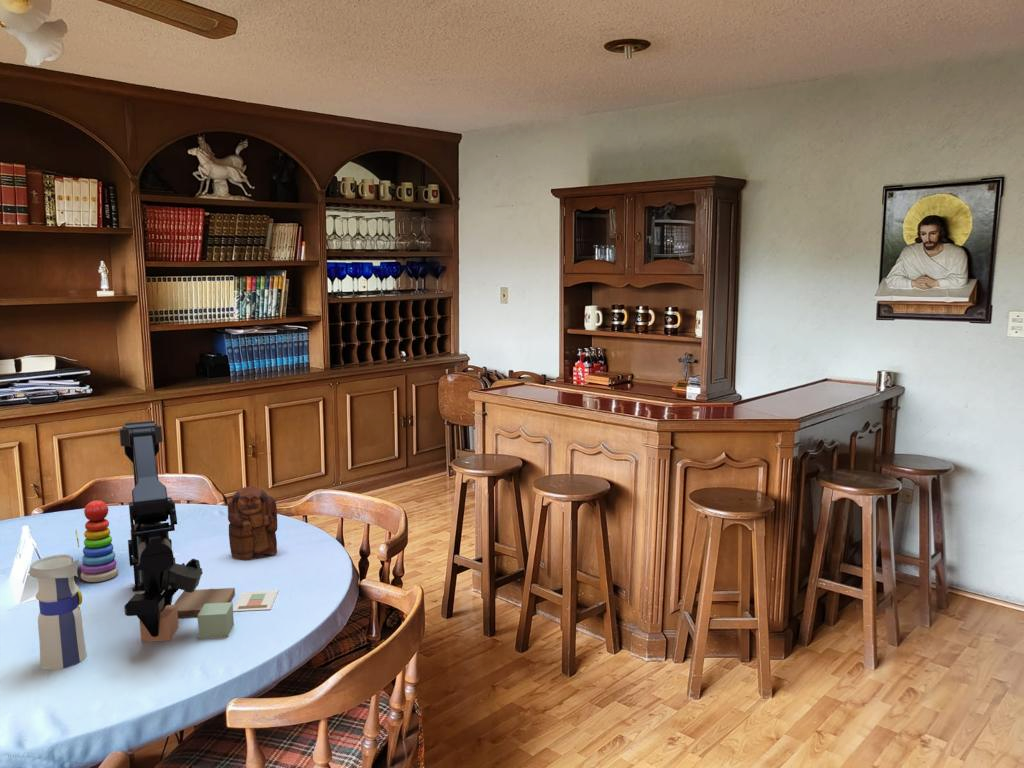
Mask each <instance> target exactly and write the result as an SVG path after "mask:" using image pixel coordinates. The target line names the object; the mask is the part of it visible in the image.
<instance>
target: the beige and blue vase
mask: <svg viewBox="0 0 1024 768" xmlns="http://www.w3.org/2000/svg"><path fill="white" fill-rule="evenodd" d="M75 536H76V542H77V543H76V544H77V547H78V548H80V542H79V537H78V536H79V535H78V532H77V529H75ZM79 561H80V560H79V559H76V560H74V557H73V556H72V555H69V554H66V553H65V554H55V555H50V556H46V557H43V558H39V559H36V560H35V561H33V562H31V564H30V567H29V576H31V577H32V578H35V579H36V580H37V583H38V591H37V593H36V595H35V598H36V599H37V600H38V606H39V613H38V617H37V629H38V640H39V641H38V642H39V665H40V667H41V668H43V669H45V670H51V671H53V670H62V669H66V668H70V667H73V666H75V665H78V664H79V663H81V662H83V661H84V660H85V659H86V658H87V655H88V654H87V647H86V641H85V640H86V639H85V634H84V626H83V616H82V610H81V605H82V604H83V595H82V591H81V589H80V588H79V586H78V585H77V584H76V582H75V576H76V577H77V578H78V577H79V575H78V567H79Z"/></svg>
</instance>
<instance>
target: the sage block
mask: <svg viewBox="0 0 1024 768" xmlns="http://www.w3.org/2000/svg"><path fill="white" fill-rule="evenodd" d="M233 608H234V605H233V602H232V601H231V602H229V603H210V604H204V606H203V607H202V609H201V611H200V612H199V614H198V617H197V627H198V638H199V640H200V639H217V638H228V637H229V635H230V634H231V631H232V629H233V627H234V625H235V622H234V612H233Z"/></svg>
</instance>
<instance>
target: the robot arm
mask: <svg viewBox="0 0 1024 768" xmlns="http://www.w3.org/2000/svg"><path fill="white" fill-rule="evenodd" d="M118 433H119V443H120V444H119V445H120V446H121V447H123V450H124V454H125V456H126V457H127V458H128V459H129V460H130V461H131V462H132V463H131V464H132V470H133V481H134V482H133V483H134V485H133V486H134V487H133V488H132V489H131V499H132V500H131V502H128V512H129V521H130V539H127V546H128V547H127V548H128V560H129V567H133V578H134V579H133V581H134V586H133V587H132V589H131V591H132V592H139V591H140V592H141V591H143V592H144V593H134V595H132V597H130V599H129V600H128V601H127V602H126V603H125V605H124V616H127V617H137V618H138V620H139V621H140V620H141V622H142V623H143V624H144V626H145V627H146V629H147V630H148V632H149V633H150V634H151V636H152V637H157V636H158V634H159V624H160V613H161V612H162V611H163V610H164V608H165V607H166V606H167V605H172V601H173V599H174V598H173V597H174V595H175V594H176V593H177V592H178V591H179V590H181V591H184V590H185V592H189V593H192V592H194V591H195V590H197V587H199V584H200V581H201V577H202V575H203V568H202V567H201V564H200V560H199V559H195V558H191V559H190V560H189V561H188V562H187V563H186V564H185V563H184V562H182V564H180V563H176V557H174V552H173V548H172V543H173V542H172V539H171V538H170V536H169V534H170V533H169V532H173V531H175V525H178V518H177V510H176V504H175V503H176V502H174V501H173V498H172V497H169V496H168V492H167V486H166V485H164V484H163V483H162V482H161V481H160V479H159V473H158V466H157V465H158V464H157V458H156V457H157V455H158V454H159V452H160V443H163V442H164V440H163V439H164V437H163V427H162V425H161V424H157V423H155V420H146V421H133V422H125V423H124V426H122V428H119V429H118ZM168 520H169V522H167V521H168Z"/></svg>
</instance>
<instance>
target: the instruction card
mask: <svg viewBox="0 0 1024 768" xmlns="http://www.w3.org/2000/svg"><path fill="white" fill-rule="evenodd" d="M278 594H279V589H276V590H275V589H274V590H262V591H261V590H254V591H242V592H241V594H240V595H239V597H238V599H237V601H236V603H235V605H234V606H233V613H236V612H238V613H239V612H255V611H256V612H257V611H271V609H272V608H273V605H274V603H275V600H276V598H277V596H278Z"/></svg>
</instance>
